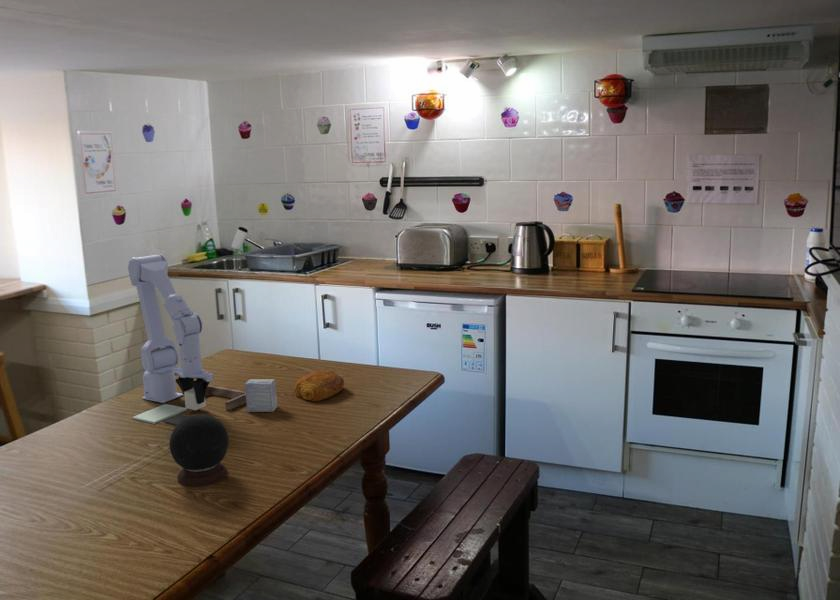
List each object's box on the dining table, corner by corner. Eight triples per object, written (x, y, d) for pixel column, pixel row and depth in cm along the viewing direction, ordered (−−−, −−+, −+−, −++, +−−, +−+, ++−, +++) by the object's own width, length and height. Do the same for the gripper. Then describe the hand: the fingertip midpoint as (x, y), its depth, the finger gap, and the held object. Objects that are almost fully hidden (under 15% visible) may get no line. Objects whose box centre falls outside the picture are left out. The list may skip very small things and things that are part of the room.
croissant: (352, 396, 234) (353, 371, 233) (319, 405, 221) (321, 378, 220) (316, 388, 242) (317, 364, 241) (283, 396, 229) (284, 370, 228)
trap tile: (163, 422, 211) (163, 421, 211) (180, 415, 216) (180, 414, 216) (179, 425, 208) (178, 424, 208) (195, 418, 213) (195, 417, 213)
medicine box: (277, 407, 221) (275, 378, 219) (273, 412, 216) (271, 383, 214) (251, 406, 221) (249, 378, 220) (246, 412, 217) (244, 383, 215)
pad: (132, 419, 215) (132, 417, 214) (165, 405, 225) (165, 403, 225) (154, 424, 210) (154, 422, 210) (187, 410, 220) (186, 408, 220)
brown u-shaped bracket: (186, 402, 227) (185, 394, 227) (209, 392, 235) (209, 385, 235) (228, 410, 219) (227, 402, 218) (250, 400, 227) (250, 392, 226)
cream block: (185, 408, 218) (184, 391, 217) (196, 403, 222) (194, 387, 221) (195, 410, 216) (194, 393, 215) (205, 405, 220) (204, 389, 219)
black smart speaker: (243, 469, 179) (238, 409, 176) (206, 493, 167) (200, 429, 164) (199, 461, 184) (193, 403, 181) (160, 483, 173) (153, 422, 170)
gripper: (161, 357, 216) (166, 402, 219) (198, 363, 209) (202, 409, 212) (180, 351, 222) (185, 395, 225) (216, 356, 215) (221, 402, 218)
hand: (195, 401), depth 219 cm, fingers closed on cream block, 4 cm apart
